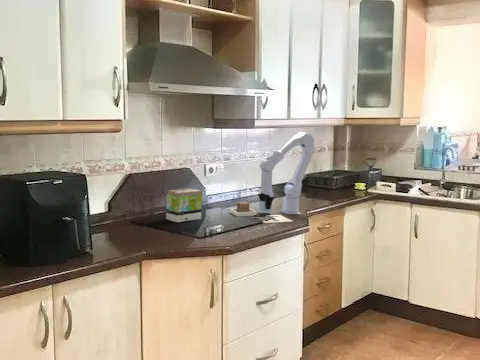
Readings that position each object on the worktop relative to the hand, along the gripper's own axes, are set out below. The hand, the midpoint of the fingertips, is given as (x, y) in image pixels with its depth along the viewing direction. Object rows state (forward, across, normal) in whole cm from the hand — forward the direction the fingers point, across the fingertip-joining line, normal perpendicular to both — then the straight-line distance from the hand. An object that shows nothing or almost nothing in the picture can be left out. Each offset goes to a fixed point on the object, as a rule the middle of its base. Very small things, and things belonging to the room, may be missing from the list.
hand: (265, 208), depth 299 cm
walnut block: (+3, -2, -12) cm, 13 cm away
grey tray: (+3, -2, -12) cm, 13 cm away
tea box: (+3, +1, -45) cm, 45 cm away
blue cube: (+2, 0, 0) cm, 2 cm away
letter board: (+3, +13, -2) cm, 14 cm away
